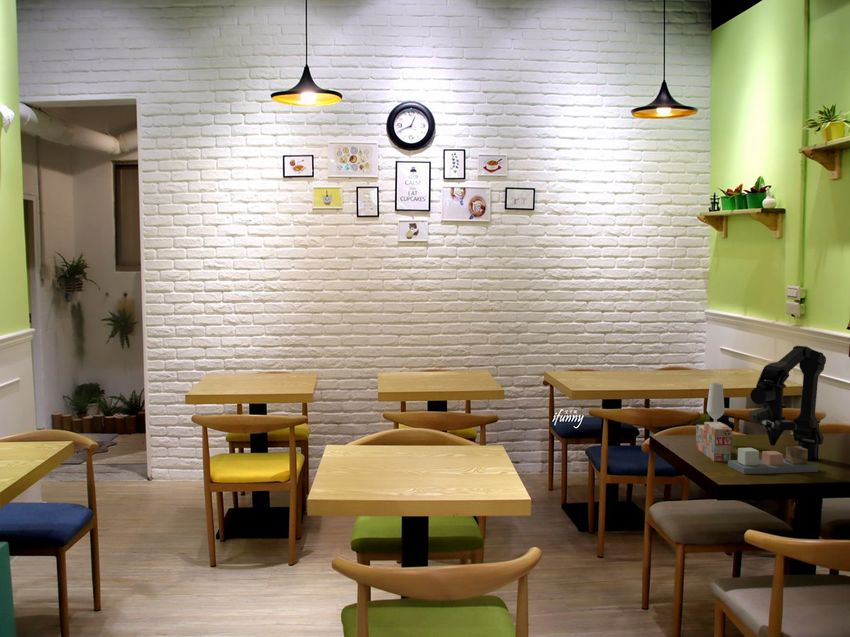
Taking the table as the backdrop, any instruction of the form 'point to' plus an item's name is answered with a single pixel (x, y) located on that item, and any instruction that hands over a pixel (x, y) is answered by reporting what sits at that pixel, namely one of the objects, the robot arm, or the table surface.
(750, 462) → the pale green cube
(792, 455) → the walnut key
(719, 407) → the champagne flute
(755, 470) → the key board
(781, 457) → the salmon pink cube
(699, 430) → the stack of blocks
